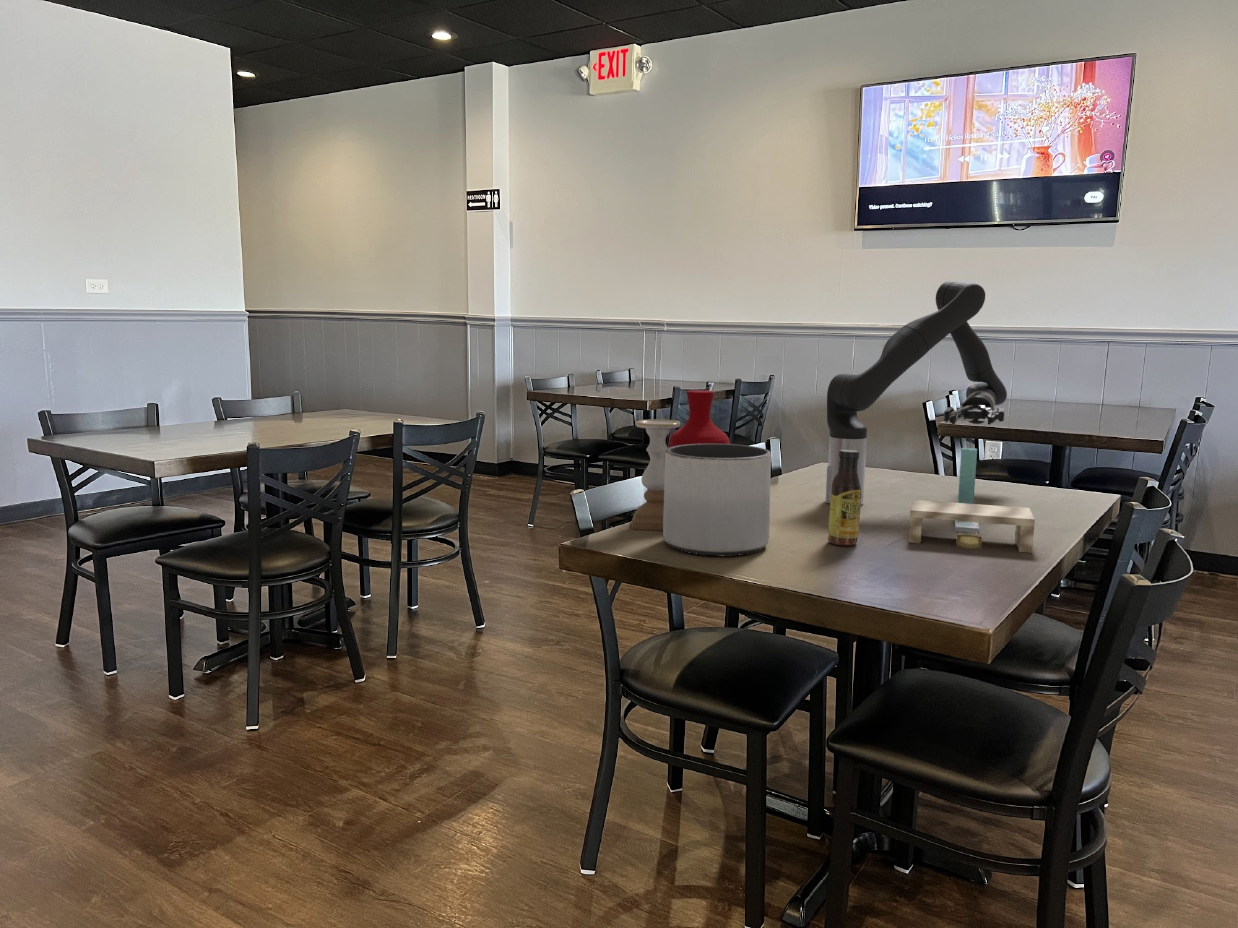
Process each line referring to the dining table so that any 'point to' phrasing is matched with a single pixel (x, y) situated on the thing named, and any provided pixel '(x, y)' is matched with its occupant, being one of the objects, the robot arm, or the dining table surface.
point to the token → (969, 540)
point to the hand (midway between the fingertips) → (971, 420)
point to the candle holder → (654, 475)
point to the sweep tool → (967, 487)
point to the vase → (699, 422)
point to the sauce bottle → (845, 501)
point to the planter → (717, 498)
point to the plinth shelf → (974, 518)
